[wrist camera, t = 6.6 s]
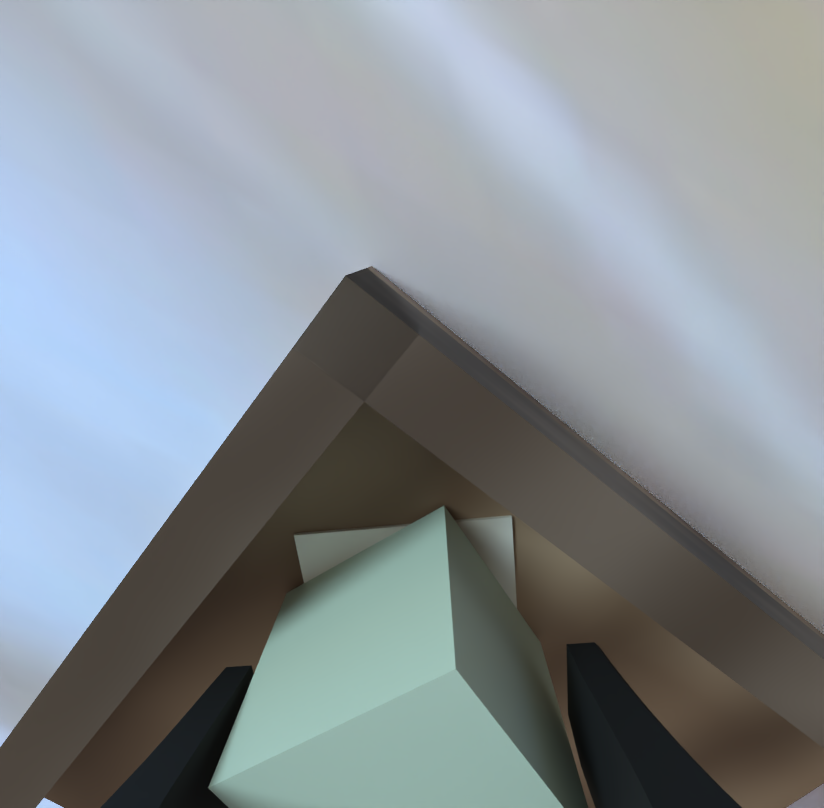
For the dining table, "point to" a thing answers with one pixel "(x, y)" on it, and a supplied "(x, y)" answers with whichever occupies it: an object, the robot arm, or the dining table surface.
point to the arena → (399, 507)
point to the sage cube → (401, 691)
